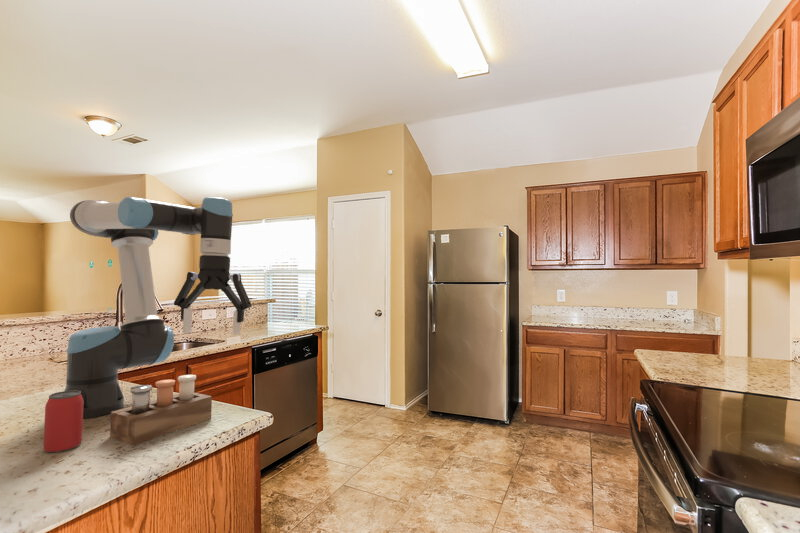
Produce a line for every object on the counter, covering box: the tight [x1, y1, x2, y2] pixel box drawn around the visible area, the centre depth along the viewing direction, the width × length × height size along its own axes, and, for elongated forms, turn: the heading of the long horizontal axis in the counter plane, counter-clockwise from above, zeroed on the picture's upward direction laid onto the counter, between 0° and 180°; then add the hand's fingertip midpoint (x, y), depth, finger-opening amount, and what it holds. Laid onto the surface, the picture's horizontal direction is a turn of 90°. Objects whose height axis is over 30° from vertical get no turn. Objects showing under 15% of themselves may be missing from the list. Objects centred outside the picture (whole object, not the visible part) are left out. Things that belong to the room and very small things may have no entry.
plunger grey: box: [129, 384, 153, 415], centre depth 95 cm, size 4×4×7 cm
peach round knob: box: [154, 379, 176, 408], centre depth 101 cm, size 4×4×7 cm
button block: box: [109, 392, 213, 446], centre depth 101 cm, size 10×20×6 cm, turn 154°
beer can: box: [42, 390, 84, 453], centre depth 88 cm, size 7×7×12 cm
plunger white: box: [177, 374, 197, 401], centre depth 106 cm, size 4×4×7 cm
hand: (211, 333), depth 106 cm, fingers open, 13 cm apart
